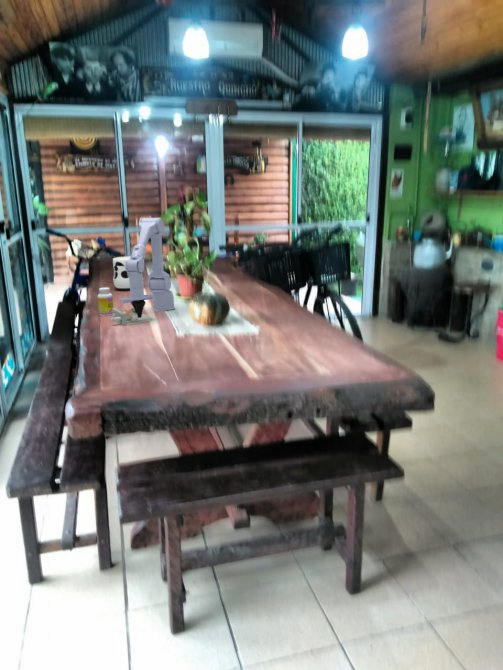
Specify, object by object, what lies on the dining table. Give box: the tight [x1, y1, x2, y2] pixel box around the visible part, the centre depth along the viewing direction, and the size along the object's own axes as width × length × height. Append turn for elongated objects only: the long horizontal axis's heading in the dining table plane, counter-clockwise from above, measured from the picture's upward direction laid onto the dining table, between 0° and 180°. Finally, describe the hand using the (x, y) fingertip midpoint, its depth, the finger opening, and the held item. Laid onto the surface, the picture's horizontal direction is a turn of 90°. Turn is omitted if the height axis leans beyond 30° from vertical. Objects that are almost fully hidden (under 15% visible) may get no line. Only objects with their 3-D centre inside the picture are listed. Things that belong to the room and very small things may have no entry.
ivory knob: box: [110, 312, 138, 323], centre depth 227 cm, size 11×4×4 cm, turn 123°
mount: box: [111, 307, 156, 326], centre depth 233 cm, size 15×14×6 cm
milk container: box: [112, 255, 144, 291], centre depth 304 cm, size 17×17×18 cm
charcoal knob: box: [112, 307, 135, 318], centre depth 235 cm, size 11×4×4 cm, turn 123°
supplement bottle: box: [97, 287, 114, 317], centre depth 243 cm, size 7×7×13 cm
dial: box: [124, 308, 131, 321], centre depth 231 cm, size 2×2×5 cm
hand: (139, 317), depth 231 cm, fingers closed
